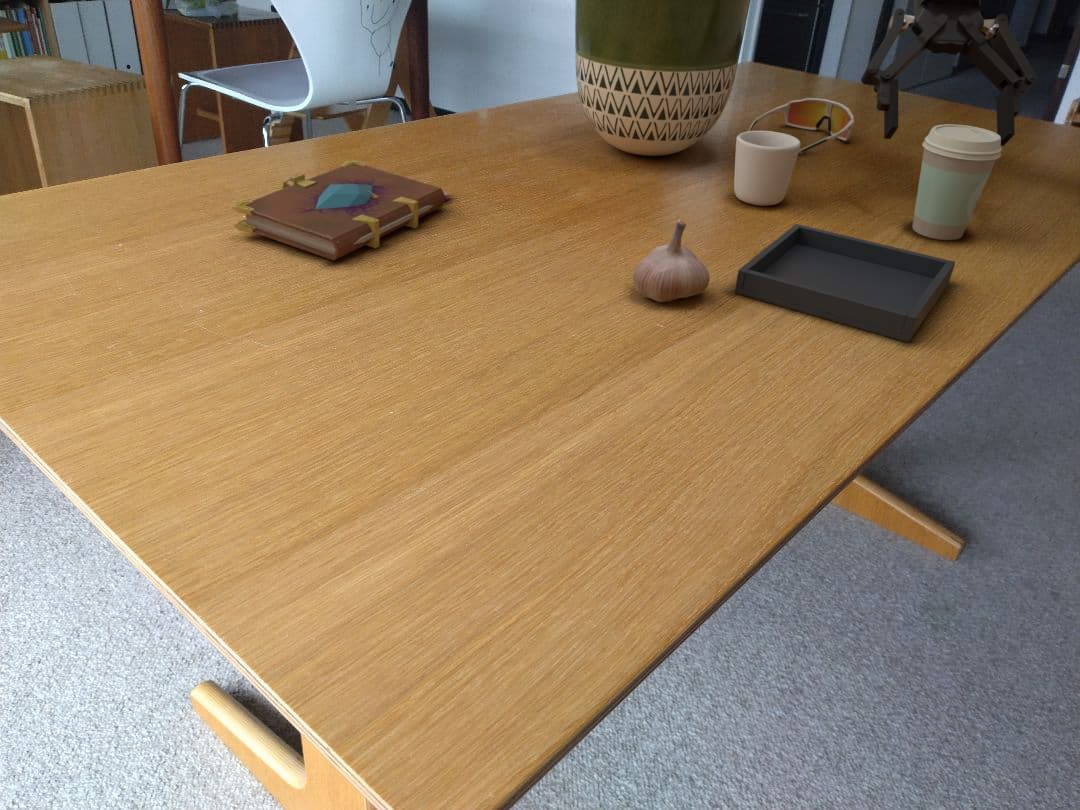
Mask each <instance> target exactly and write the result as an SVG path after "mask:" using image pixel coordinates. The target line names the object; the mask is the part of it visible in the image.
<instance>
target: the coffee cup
mask: <svg viewBox="0 0 1080 810" xmlns="http://www.w3.org/2000/svg"><path fill="white" fill-rule="evenodd" d="M922 147H923V153H922V154H923V155H922V159H921V167H920V173H919V179H918V185H917V186H918V187H917V193H916V200H915V204H914V205H915V206H914V213H913V219H912V226H911V227H912V230H913V231H914V232H915V233H916V234H918V235H920V236H923V237H926V238H929V239H933V240H939V241H955V240H959V239H961V238H963V235H964V234H965V231H966V229H967V227H968V224H969V222H970V221H971V218H972V215H973V213H974V211H975V209H976V207H977V205H978V203H979V200H980V197H981V195H982V193H983V191H984V188H985V186H986V184H987V182H988V179H989V177H990V175H991V173H992V170H993V168H994V167H995V163H996V162H997V160H998V159H999V158H1000V157H1002V154H1001V152H1002V150H1003V148H1002V146H1001V137H1000V136H999V135H998V134H997V132H994V131H992V130H989V129H986V128H982V127H977V126H973V125H965V124H956V123H955V124H952V123H945V124H938V125H934V126H933V127H932V128H930V130H929V133H928V135H927V136H926V137H925V138H924V141H923V142H922Z"/></svg>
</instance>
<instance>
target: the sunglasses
mask: <svg viewBox="0 0 1080 810" xmlns="http://www.w3.org/2000/svg"><path fill="white" fill-rule="evenodd" d="M782 112H784V124H785V125H786V126H790V127H793V128H798V129H804V130H811V131H816V130H818V129H819V128H820V127H821V126H822V124H824V122H825V121H826V120H827V131H828V132H829V133H830V136H826V137H824V138H822V139H820V140H818V141H815V142H814V143H812V144H811V143H810V144H809V145H807V146H805V147H803V148H800V149H799V153H798V154H803V153H805V152H808V151H810V150H812V149H814V148H817V147H818V146H821V145H823V144H825V143H828V142H831V141H832V142H833V140H835V139H839V140H840V141H841V140H842V141H843V142H847V141H849V138H850V137H851V135H852V131H853V128H854V125H855V118H854V117H855V116H854V115H853V113H852V111H851V110H850V108H849V107H847V106H846V105H844V104H842V103H840V102H839V101H836V100H835V101H834V100H830V99H826V98H817V97H805V98H803V99H796V100H795V99H794V100H790V101H789V102H787V103H786V104H782V105H779V106H777V107H775V108H773V109H770V110H768V111H767V112H765V113H763V114H761V115H760V116H758V117H756V118H755V119H754V120H753V122H752V123H751V124H750V126H749V128H748V131H753V129H754V126H756V124H757V123H759V122H761V121H762V120H763V119H765V118H766V117H768V116H770V115H773V114H780V113H782Z"/></svg>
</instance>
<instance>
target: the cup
mask: <svg viewBox="0 0 1080 810" xmlns="http://www.w3.org/2000/svg"><path fill="white" fill-rule="evenodd" d="M801 144H802V143H801V141H800V139H799V138H797V137H795V136H793V135H791V134H788V133H783V132H779V131H773V130H772V131H771V130H751V131H749V130H748V131H743V132H741V133H739V134H738V135H737V136H736V140H735V158H734V159H735V160H734V177H733V178H734V179H733V190H734V195H735V197H736V198H737V199H738V200H740V201H741V202H744V203H745V204H746V203H747V204H748V205H749V204H750V205H753V206H761V207H762V206H766V207H767V206H774V205H777V204H780V203H781V202H782V201H783V200H784V199H785V197H786V195H787V193H788V189H789V186H790V183H791V180H792V176H793V173H794V170H795V166H796V163H797V159H798V157H799V154H800V153H799V150H801Z"/></svg>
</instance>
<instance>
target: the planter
mask: <svg viewBox="0 0 1080 810" xmlns="http://www.w3.org/2000/svg"><path fill="white" fill-rule="evenodd" d="M574 3H575V7H574V8H575V9H574V21H575V22H574V23H575V24H574V37H575V38H574V45H575V46H574V48H575V49H574V51H575V53H574V55H575V56H574V58H575V59H574V60H575V64H574V65H575V82H576V87H577V93H578V98H579V102H580V105H581V108H582V111H583V113H584V115H585V117H586V119H587V121H588V122H589V124H590V125H591V127H592V128H593V129H594V130H595V132H596V133H597V134H598V135H599V136H600V137H601V138H602V139H604V140H605V141H606V142H607V143H608V144H609V145H611V146H612V147H614V148H616V149H617V150H619V151H620V150H621V151H622V152H625V153H628V154H633V155H638V156H645V157H659V156H668V155H673V154H677V153H680V152H682V151H684V150H686V149H688V148H690V147H691V146H693V145H694V144H696V143H698V141H700V140H701V139H702V138H703V137H705V136H706V135H707V134H708V133H709V132H710V131H711V130H712V128H713V127H714V126H715V125H716V124H717V122H718V121H719V120H720V118H721V116H722V114H723V112H724V110H725V109H726V106H727V103H728V101H729V98H730V97H731V96H730V95H731V93H732V90H733V87H734V83H735V79H736V74H737V70H738V65H739V60H740V56H741V50H742V45H743V40H744V36H745V31H746V25H747V20H748V14H749V10H750V5H751V0H575V1H574Z"/></svg>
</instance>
